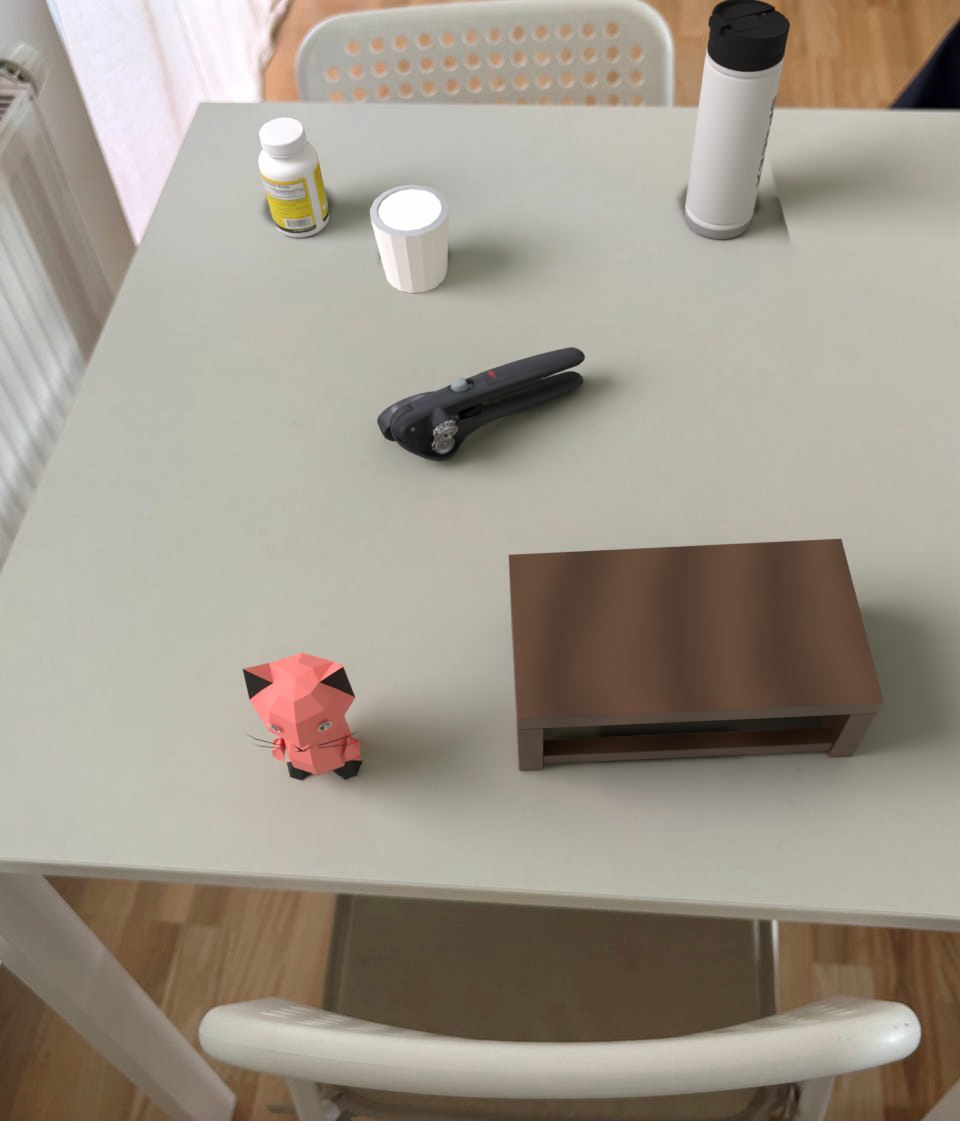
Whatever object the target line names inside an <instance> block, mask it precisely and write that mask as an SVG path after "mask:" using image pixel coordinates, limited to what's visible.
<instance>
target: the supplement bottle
mask: <svg viewBox="0 0 960 1121" xmlns="http://www.w3.org/2000/svg"><path fill="white" fill-rule="evenodd" d="M258 135H259V136H258V137H259V140H260V145H261V148H262V150H261V151H260V152H259V153H260V154H259V155H258V167H259V172H260V176H261V179H262V183H263V184H262V185H263V187H264V191H265V194H266V199H267V203H268V206H269V207H268V208H269V210H270V214H271V217H272V222H273V223H274V226H275V228H276V230H277V231H278V232H280V233H281V234H283V235H285V236H286V237H289V238H290V237H291V238H306V237H310V236H313V235H316V234H317V233H319V232H320V231H322V230H323V229H324V228H325V227H326V226H327V225H328V223H329V220H330V208H329V203H328V199H327V194H326V188H325V184H324V179H323V174H322V170H321V164H320V160H319V159H320V158H319V156H318V152H317V150H316V148H315V146H314V145H313V144H311V143H310V142H309V141H307V134H306V131H305V127H304V124H303V123H302V122H301V121H300V120H298V119H296V118H292V117H277V118H274V119H271V120H269V121H268V122H266V123H264V124H263V125H262V126H261V127H260V129H259V132H258Z"/></svg>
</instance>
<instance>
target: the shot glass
mask: <svg viewBox="0 0 960 1121" xmlns="http://www.w3.org/2000/svg"><path fill="white" fill-rule="evenodd" d="M369 215H370V217H369V218H370V222H371V225H372V229H373V233H374V238H375V242H376V245H377V248H378V251H379V255H380V258H381V263H382V266H383V270H384V274H385V277H386V280H387V282H388V283H389V284H390V285H391V287H393V288H394V289H396V290H398V291H400V292H402V293H409V294H419V293H427V292H429V291H431V290H433V289H435V288H437V287H438V286H440V284H442V283H443V282H444V281H445V280H446V276H447V273H448V262H449V261H448V258H449V257H448V255H449V254H448V253H449V218H450V210H449V203H448V200H447V199H446V197H445V196H444V195H443V194H442V193H441V192H440V191H438V190H436V189H434V188H432V187H430V186H426V185H419V184H405V185H399V186H398V185H397V186H395V187H392V188H390V189H388V190H385V191H383V192H382V193H381V194H379V195H378V196H377V197H376V198H375V199H374V200H373V202H372V204H371V206H370V208H369Z"/></svg>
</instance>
